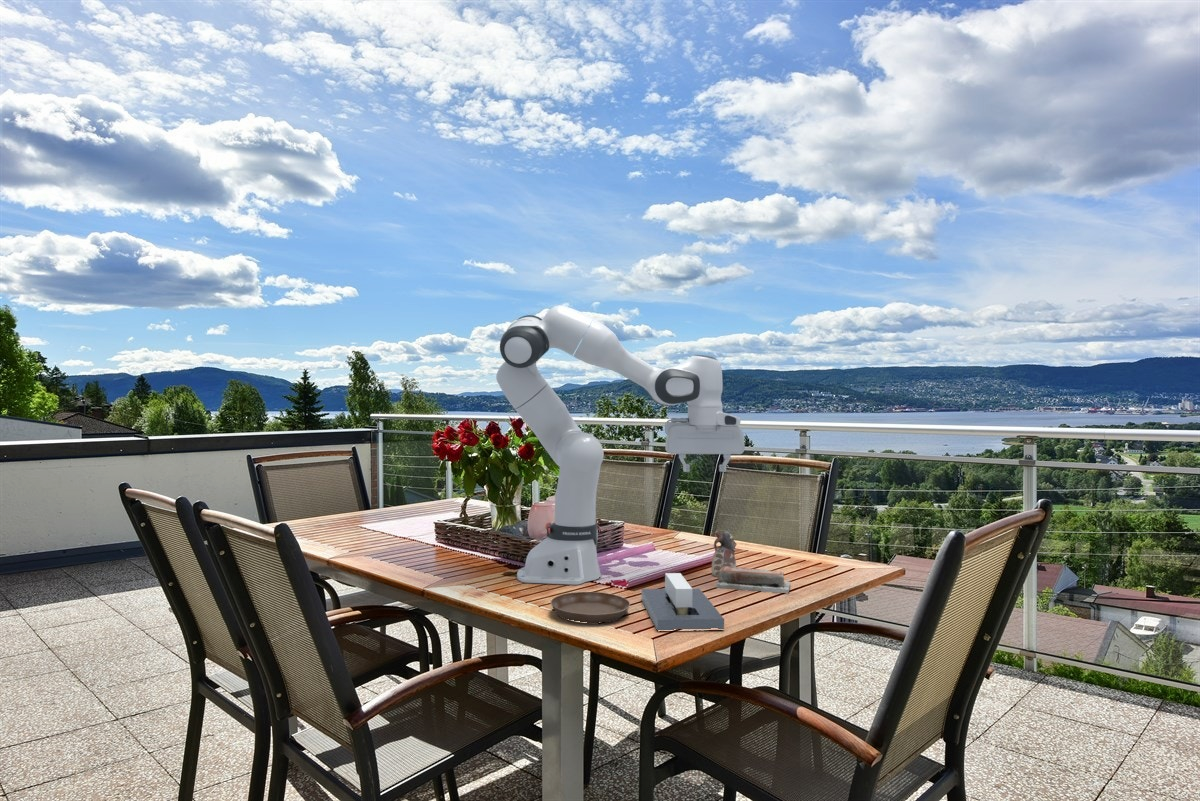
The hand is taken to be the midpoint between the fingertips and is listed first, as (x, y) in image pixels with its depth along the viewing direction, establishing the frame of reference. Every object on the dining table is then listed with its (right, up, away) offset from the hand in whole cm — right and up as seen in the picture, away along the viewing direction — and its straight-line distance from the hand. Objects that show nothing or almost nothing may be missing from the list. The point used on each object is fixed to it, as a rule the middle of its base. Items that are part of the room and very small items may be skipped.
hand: (704, 471), depth 190 cm
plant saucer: (-29, -30, -26) cm, 49 cm away
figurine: (+7, -30, +11) cm, 32 cm away
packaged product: (+13, -30, -1) cm, 33 cm away
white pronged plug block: (-9, -29, -24) cm, 39 cm away
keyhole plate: (-9, -29, -26) cm, 40 cm away
